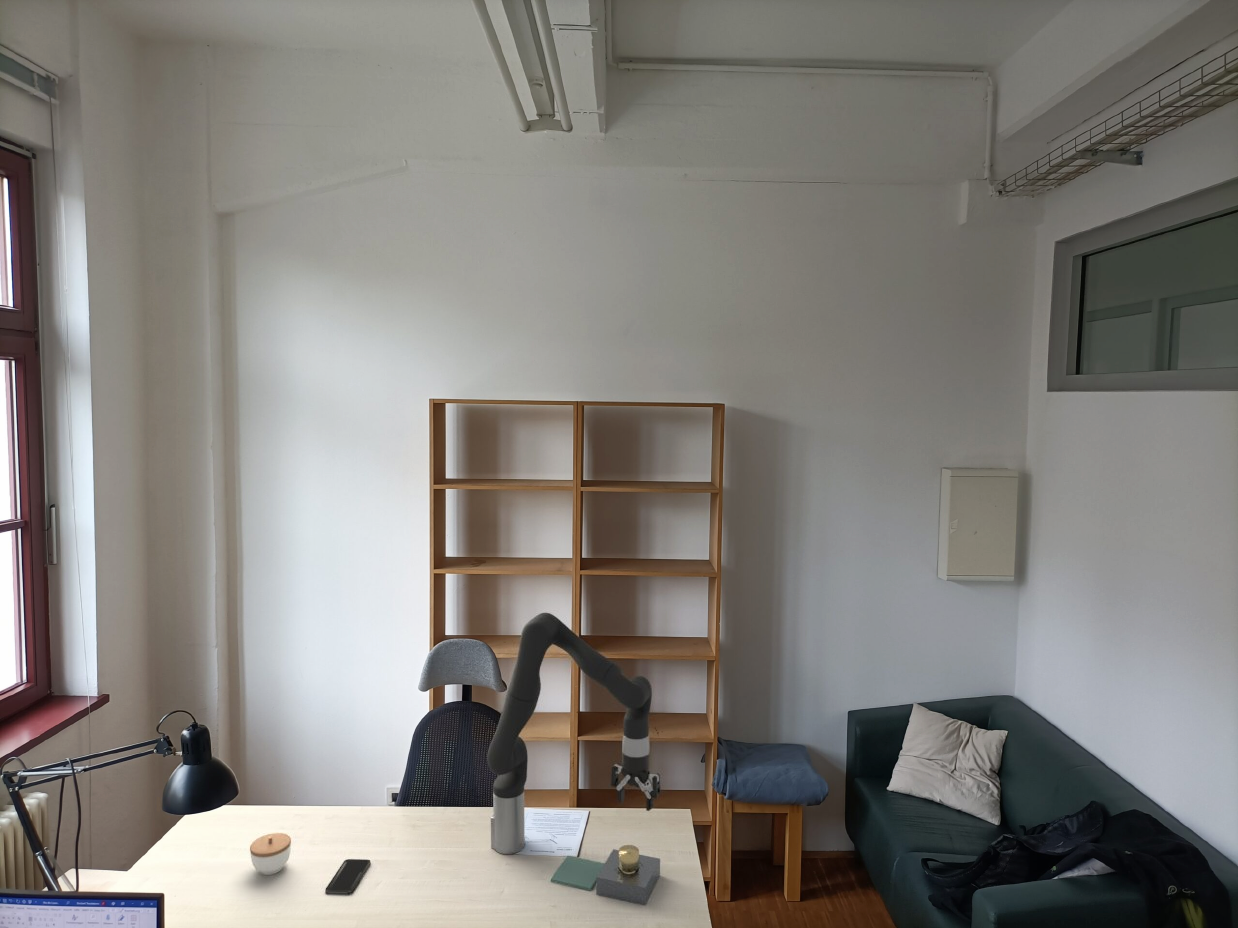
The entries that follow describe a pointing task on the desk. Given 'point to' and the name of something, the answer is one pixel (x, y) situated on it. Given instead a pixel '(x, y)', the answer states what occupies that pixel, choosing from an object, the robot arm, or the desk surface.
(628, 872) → the end cover
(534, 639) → the robot arm
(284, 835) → the lidded jar
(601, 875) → the block
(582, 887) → the mat
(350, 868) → the phone
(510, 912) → the desk surface
